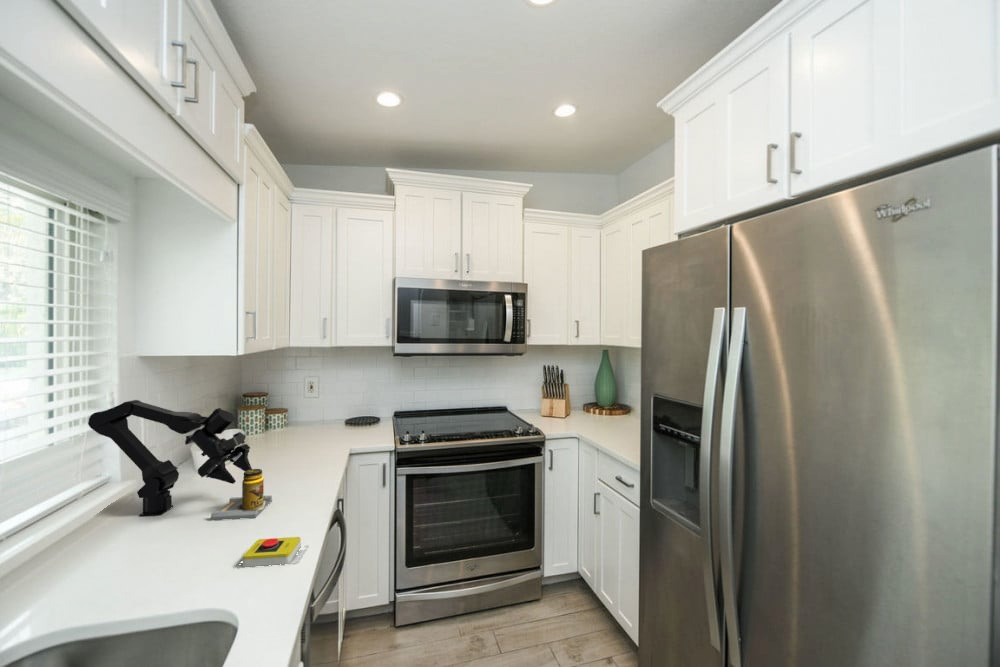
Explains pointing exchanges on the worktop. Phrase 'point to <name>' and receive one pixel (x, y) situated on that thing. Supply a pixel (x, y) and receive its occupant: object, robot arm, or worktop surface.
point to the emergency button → (273, 552)
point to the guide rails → (238, 512)
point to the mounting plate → (232, 506)
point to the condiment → (252, 491)
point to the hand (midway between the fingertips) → (243, 477)
